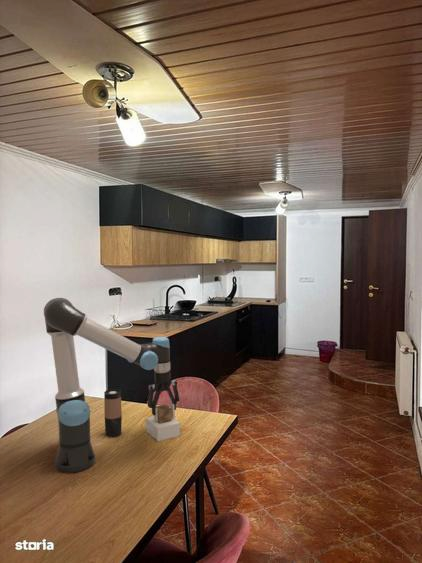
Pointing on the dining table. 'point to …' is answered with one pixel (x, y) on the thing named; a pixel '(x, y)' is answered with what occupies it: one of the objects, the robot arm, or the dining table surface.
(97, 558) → the dining table surface
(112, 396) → the travel mug
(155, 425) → the white block
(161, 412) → the walnut cube
